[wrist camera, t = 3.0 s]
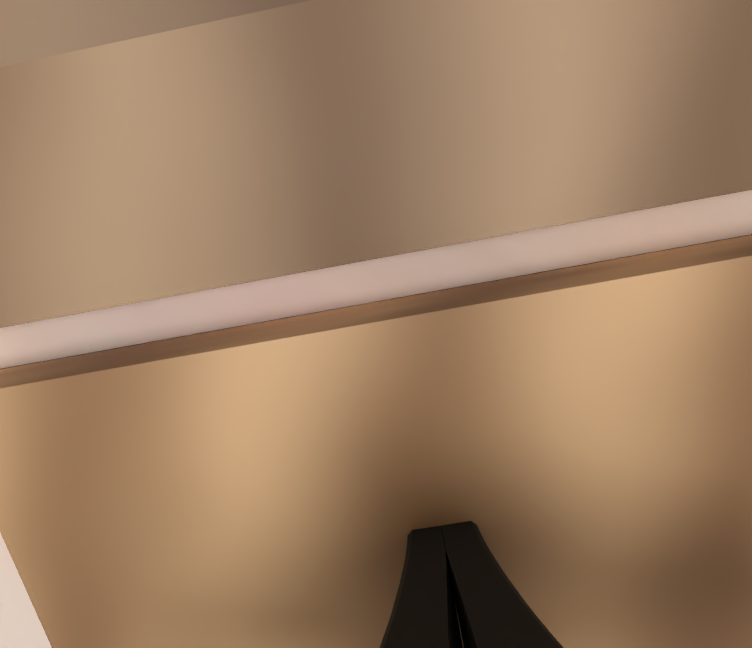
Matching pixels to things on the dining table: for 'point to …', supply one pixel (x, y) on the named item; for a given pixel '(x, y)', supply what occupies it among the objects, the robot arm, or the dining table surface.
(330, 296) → the dining table surface
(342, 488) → the teak plank
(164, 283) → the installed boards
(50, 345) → the dining table surface
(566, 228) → the dining table surface
